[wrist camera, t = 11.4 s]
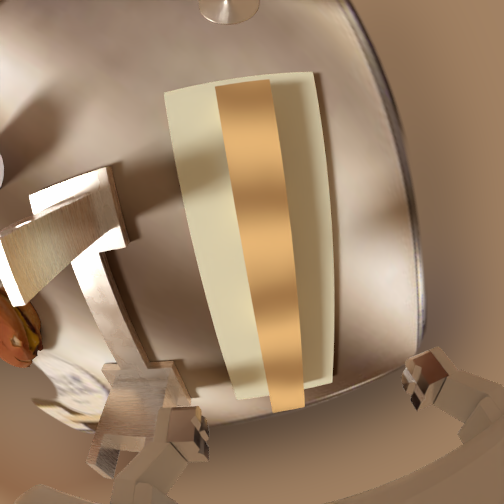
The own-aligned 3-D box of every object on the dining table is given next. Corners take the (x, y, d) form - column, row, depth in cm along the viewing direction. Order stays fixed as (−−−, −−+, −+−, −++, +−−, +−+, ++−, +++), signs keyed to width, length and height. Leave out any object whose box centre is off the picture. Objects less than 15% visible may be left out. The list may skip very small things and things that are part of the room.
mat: (166, 94, 16) (163, 92, 15) (309, 74, 16) (312, 71, 16) (236, 394, 27) (237, 400, 26) (330, 377, 27) (332, 382, 26)
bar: (217, 95, 16) (214, 86, 13) (263, 89, 16) (269, 79, 13) (269, 389, 26) (272, 412, 23) (298, 384, 26) (304, 406, 23)
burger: (-20, 290, 20) (-42, 309, 16) (11, 265, 20) (-15, 287, 16) (21, 355, 24) (5, 378, 20) (60, 343, 24) (42, 371, 19)
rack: (35, 193, 18) (-64, 239, 7) (111, 165, 18) (1, 198, 7) (127, 399, 27) (104, 482, 16) (191, 398, 27) (182, 492, 16)
